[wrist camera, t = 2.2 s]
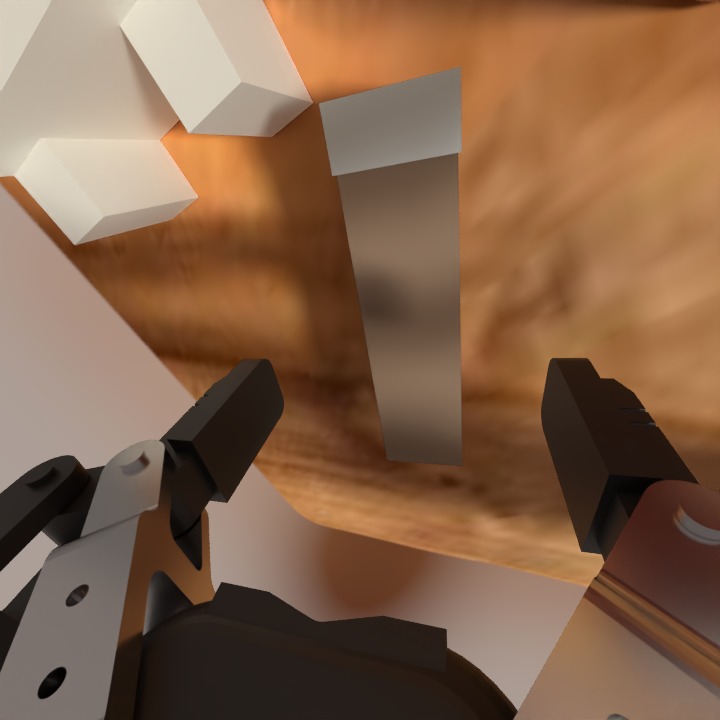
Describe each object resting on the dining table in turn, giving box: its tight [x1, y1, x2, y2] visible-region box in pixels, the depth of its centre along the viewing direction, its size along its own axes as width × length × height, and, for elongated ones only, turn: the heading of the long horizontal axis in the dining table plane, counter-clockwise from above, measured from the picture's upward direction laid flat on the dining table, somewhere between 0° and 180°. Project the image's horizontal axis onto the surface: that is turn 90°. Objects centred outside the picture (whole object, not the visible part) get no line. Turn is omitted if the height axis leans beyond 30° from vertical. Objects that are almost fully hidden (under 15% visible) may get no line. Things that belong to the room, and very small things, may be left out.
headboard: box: [0, 0, 313, 245], centre depth 12 cm, size 5×10×10 cm, turn 119°
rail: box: [319, 67, 462, 466], centre depth 16 cm, size 16×4×5 cm, turn 9°
